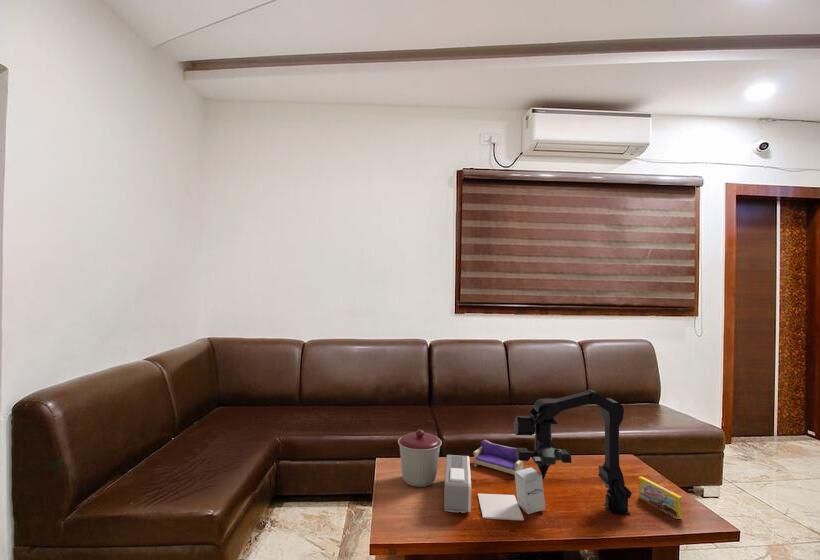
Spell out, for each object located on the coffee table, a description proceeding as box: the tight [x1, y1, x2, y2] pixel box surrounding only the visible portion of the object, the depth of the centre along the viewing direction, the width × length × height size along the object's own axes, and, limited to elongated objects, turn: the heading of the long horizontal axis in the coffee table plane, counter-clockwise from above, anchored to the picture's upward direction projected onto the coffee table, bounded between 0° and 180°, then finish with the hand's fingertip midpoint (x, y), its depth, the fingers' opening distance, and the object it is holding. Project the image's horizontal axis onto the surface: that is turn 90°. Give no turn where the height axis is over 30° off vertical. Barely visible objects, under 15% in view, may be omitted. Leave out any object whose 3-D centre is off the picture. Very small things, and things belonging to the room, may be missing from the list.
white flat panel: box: [477, 492, 525, 521], centre depth 148 cm, size 14×16×1 cm
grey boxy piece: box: [443, 454, 472, 514], centre depth 155 cm, size 27×9×12 cm, turn 173°
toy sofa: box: [472, 439, 524, 476], centre depth 180 cm, size 21×9×10 cm, turn 55°
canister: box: [397, 429, 443, 488], centre depth 167 cm, size 18×18×21 cm
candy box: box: [638, 475, 683, 520], centre depth 150 cm, size 16×2×8 cm, turn 20°
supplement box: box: [514, 467, 546, 515], centre depth 148 cm, size 7×7×13 cm
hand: (542, 479), depth 147 cm, fingers closed
